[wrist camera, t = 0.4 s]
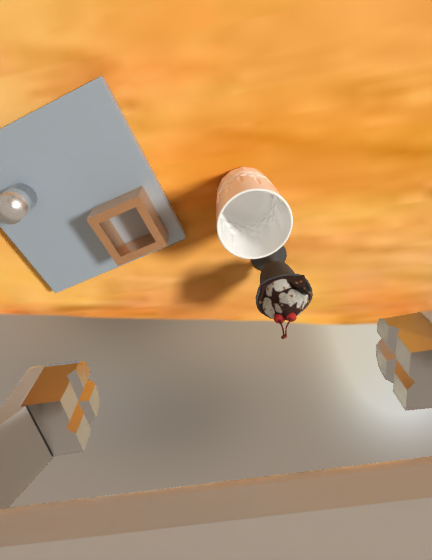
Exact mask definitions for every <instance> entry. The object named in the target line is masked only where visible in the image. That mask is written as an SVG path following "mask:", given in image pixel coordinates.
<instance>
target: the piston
mask: <svg viewBox="0 0 432 560" xmlns="http://www.w3.org/2000/svg"><path fill="white" fill-rule="evenodd" d="M36 203H37V195H36V193H35V191H34V190H33V189H32V188H31V187H30V186H28V185H26V184H23V183H16V184H13V185H12V186H11V187H9V188H8V189H7V190H5V191H4V192H3V193H2V194H0V221H1V222H3V223H5V224H11V225H12V224H16V223H18V222H20V221H21V220H22V218H23V217H24V216H25V215H26V214H27V213H28V212H29V211H30V210H31V209H32V208H33V207H34V206H35V205H36Z"/></svg>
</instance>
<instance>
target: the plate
mask: <svg viewBox="0 0 432 560" xmlns="http://www.w3.org/2000/svg"><path fill="white" fill-rule="evenodd" d="M16 183H23V184H26V185H28V186H30V187H31V188H32V189H33V190H34V191H35V193H36V195H37V203H36V205H35V206H34V207H33V208H32V209H31V210H30V211H29V212H28V213H27V214H26V215H25V216H24V217H23V218H22V220H21V221H20V222H18V223H16V224H12V225H11V224H5V223H3V222H1V221H0V227H1V228H2V230H3V231H4V232H5V233H6V234H7V236H8V237H9V238H10V239H11V240H12V242H13V243H14V244H15V245H16V246H17V248H18V249H19V250H20V251H21V252H22V254H23V255H24V256H25V257H26V258H27V260H28V261H29V262H30V263H31V264H32V266H33V267H34V268H35V269H36V270H37V272H38V273H39V274H40V275H41V276H42V278H43V279H44V280H45V281H46V283H47V284H48V285H49V286H50V287H51V289H52V290H53V291H54V292H55V293H57V292H59V291H62V290H64V289H66V288H69V287H71V286H74V285H76V284H78V283H81V282H83V281H86V280H88V279H90V278H93V277H95V276H98V275H100V274H102V273H105V272H107V271H109V270H112V269H114V268H117V267H119V266H117V264H116V263H115V261H114V260H113V258H112V257H111V255H110V254H109V253H108V251H107V250H106V248H105V247H104V245H103V244H102V242H101V241H100V239H99V238H98V236H97V235H96V233H95V232H94V230H93V229H92V227H91V226H90V225H89V223H88V222H87V220H86V219H87V217H88V216H89V214H90V212H91V211H92V209H93V208H94V207H97V206H99V205H101V204H103V203H105V202H108V201H110V200H112V199H114V198H116V197H119V196H121V195H123V194H125V193H127V192H129V191H132V190H134V189H136V188H138V187H140V186H143V187H144V189H145V191H146V193H147V194H148V196H149V198H150V200H151V202H152V203H153V205H154V207H155V209H156V211H157V213H158V214H159V216H160V218H161V220H162V222H163V223H164V225H165V227H166V229H167V231H168V232H169V236H168V245H167V246H169V245H172V244H174V243H176V242H179V241H181V240H184V239H186V233H185V231H184V229H183V227H182V225H181V224H180V222H179V220H178V218H177V216H176V214H175V212H174V210H173V208H172V206H171V205H170V203H169V201H168V199H167V197H166V195H165V193H164V191H163V189H162V187H161V186H160V184H159V182H158V180H157V178H156V176H155V174H154V172H153V170H152V168H151V166H150V165H149V163H148V161H147V159H146V157H145V155H144V153H143V151H142V149H141V147H140V146H139V144H138V142H137V140H136V138H135V136H134V134H133V132H132V130H131V128H130V127H129V125H128V123H127V121H126V119H125V117H124V115H123V113H122V111H121V109H120V108H119V106H118V104H117V102H116V100H115V98H114V96H113V94H112V92H111V90H110V89H109V87H108V85H107V83H106V81H105V79H104V77H103V76H101V77H99V78H97V79H95V80H93V81H91V82H89V83H87V84H85V85H83V86H81V87H80V88H78V89H76V90H74V91H72V92H70V93H68V94H66V95H64V96H62V97H60V98H59V99H57V100H55V101H53V102H51V103H49V104H47V105H45V106H43V107H41V108H39V109H38V110H36V111H34V112H32V113H30V114H28V115H26V116H24V117H22V118H20V119H18V120H17V121H15V122H13V123H11V124H9V125H7V126H5V127H3V128H1V129H0V194H2V193H3V192H4V191H5V190H7V189H8V188H9V187H11V186H12V185H13V184H16ZM110 221H111V222H112V224H113V226H114V227H115V229H116V230H117V232H118V233H119V235H120V237H121V238H122V240H123V241H124V243H125V244H126V243H128V242H130V241H133V240H135V239H137V238H140V237H142V236H144V235H147V234H149V233H150V231H149V229H148V228H147V226H146V224H145V222H144V221H143V219H142V217H141V216H140V214H139V212H138V210H137V209H136V207H135V208H132V209H130V210H128V211H126V212H124V213H121V214H119V215H117V216H115V217H112V218H110ZM167 246H165V247H167ZM163 248H164V247H163ZM161 249H162V248H161ZM158 250H160V249H158ZM156 251H157V250H156ZM153 252H155V251H153ZM153 252H151V253H153ZM149 254H150V253H149ZM146 255H148V254H146ZM144 256H145V255H144ZM141 257H143V256H141ZM141 257H139V258H141ZM137 259H138V258H137ZM134 260H136V259H134ZM132 261H133V260H132ZM130 262H131V261H130ZM127 263H129V262H127ZM125 264H126V263H125ZM122 265H124V264H122ZM120 266H121V265H120Z"/></svg>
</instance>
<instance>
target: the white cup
mask: <svg viewBox="0 0 432 560" xmlns="http://www.w3.org/2000/svg"><path fill="white" fill-rule="evenodd" d="M216 220H217V234H218V237H219V240H220V242H221V243H222V245H223V246H224V247H225V248H226V249H227V250H228V251H229V252H230V253H232V254H233V255H235V256H238V257H240V258H245V259H259V258H263V257H266V256H269V255H271V254H273V253H274V252H276V251H277V250H279V249H280V248H281V247H282V246H283V245H284V244H285V242H286V241H287V239H288V238H289V236H290V233H291V230H292V225H293V216H292V212H291V209H290V207H289V205H288V203H287V202H286V201H285V199H284V198H283V197H282V195H281V194H280V193H279V191H278V190H277V189H276V187H275V186H274V185H273V184H272V183H271V182H270V181H269V180H268V179H267V178H266V176H265V175H264V174H262V173H261V172H259V171H258V170H256V169H255V168H249V167H240V168H237V169H234V170H231V171H229V172H228V173H227V174H226V175H225V176H224V177H223V178H222V179H221V181H220V184H219V187H218V189H217V200H216Z"/></svg>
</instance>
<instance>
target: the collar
mask: <svg viewBox="0 0 432 560" xmlns="http://www.w3.org/2000/svg"><path fill="white" fill-rule="evenodd" d="M135 207H136V209H137V210H138V212H139V214H140V216H141V217H142V219H143V221H144V222H145V224H146V226H147V228H148V229H149V231H150V233H149V234H147V235H144V236H142V237H140V238H137V239H135V240H133V241H130V242H128V243H126V244H125V243H124V241H123V240H122V238H121V237H120V235H119V233H118V232H117V230H116V229H115V227H114V226H113V224H112V222H111V221H110V218H112V217H115V216H117V215H119V214H121V213H124V212H126V211H128V210H130V209H132V208H135ZM86 220H87V222H88V223H89V225H90V226H91V227H92V229H93V230H94V232H95V233H96V235H97V236H98V238H99V239H100V241H101V242H102V244H103V245H104V247H105V248H106V250H107V251H108V253H109V254H110V255H111V257H112V258H113V260H114V261H115V263H116V264H117V266H120V265H122V264H125V263H127V262H130V261H132V260H134V259H137V258H139V257H141V256H144V255H146V254H149V253H151V252H153V251H156V250H158V249H161V248H163V247H165V246H167V245H168V236H169V232H168V231H167V229H166V227H165V225H164V223H163V222H162V220H161V218H160V216H159V214H158V213H157V211H156V209H155V207H154V205H153V203H152V202H151V200H150V198H149V196H148V194H147V193H146V191H145V189H144V187H143V186H140V187H138V188H136V189H134V190H132V191H129V192H127V193H125V194H123V195H121V196H119V197H116V198H114V199H112V200H110V201H108V202H105V203H103V204H101V205H99V206H97V207H94V208H93V209H92V211H91V212H90V214H89V216H88V217H87V219H86Z"/></svg>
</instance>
